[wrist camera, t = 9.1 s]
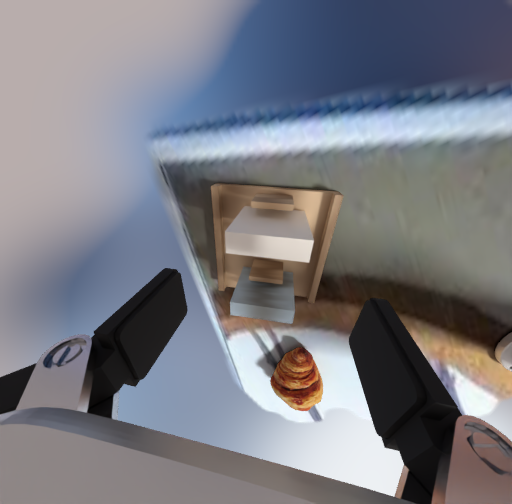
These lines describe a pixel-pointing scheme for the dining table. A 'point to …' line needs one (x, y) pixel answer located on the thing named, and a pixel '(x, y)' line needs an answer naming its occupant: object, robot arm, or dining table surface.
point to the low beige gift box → (270, 234)
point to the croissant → (298, 380)
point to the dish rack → (268, 269)
